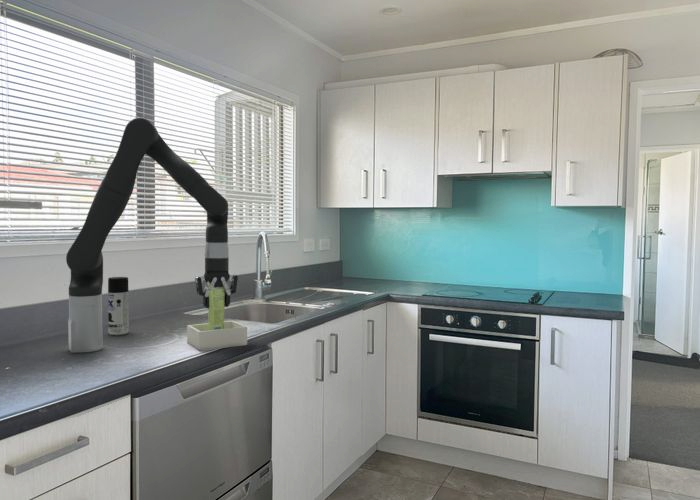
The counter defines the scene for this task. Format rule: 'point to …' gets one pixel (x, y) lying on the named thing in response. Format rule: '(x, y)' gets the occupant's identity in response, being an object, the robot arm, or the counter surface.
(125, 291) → the spray can
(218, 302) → the tube
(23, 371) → the counter surface
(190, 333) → the box
